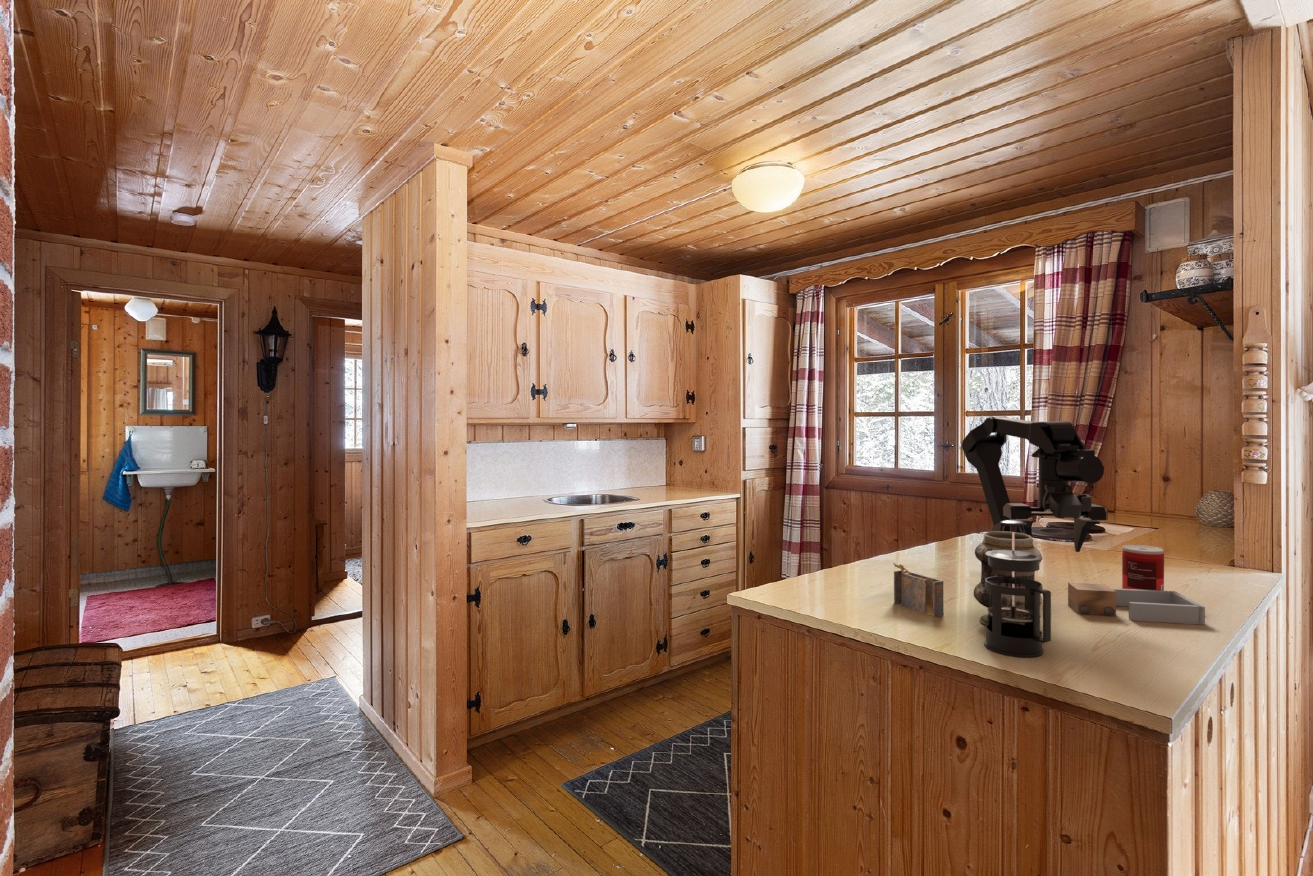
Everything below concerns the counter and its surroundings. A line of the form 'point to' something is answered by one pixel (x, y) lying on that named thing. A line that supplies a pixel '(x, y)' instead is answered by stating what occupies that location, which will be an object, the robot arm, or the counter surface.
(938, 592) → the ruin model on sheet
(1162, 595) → the dock
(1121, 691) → the counter surface
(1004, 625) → the french press
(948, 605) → the counter surface
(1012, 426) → the robot arm
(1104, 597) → the brown toy brick
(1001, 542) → the apothecary jar
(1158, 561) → the canned food
